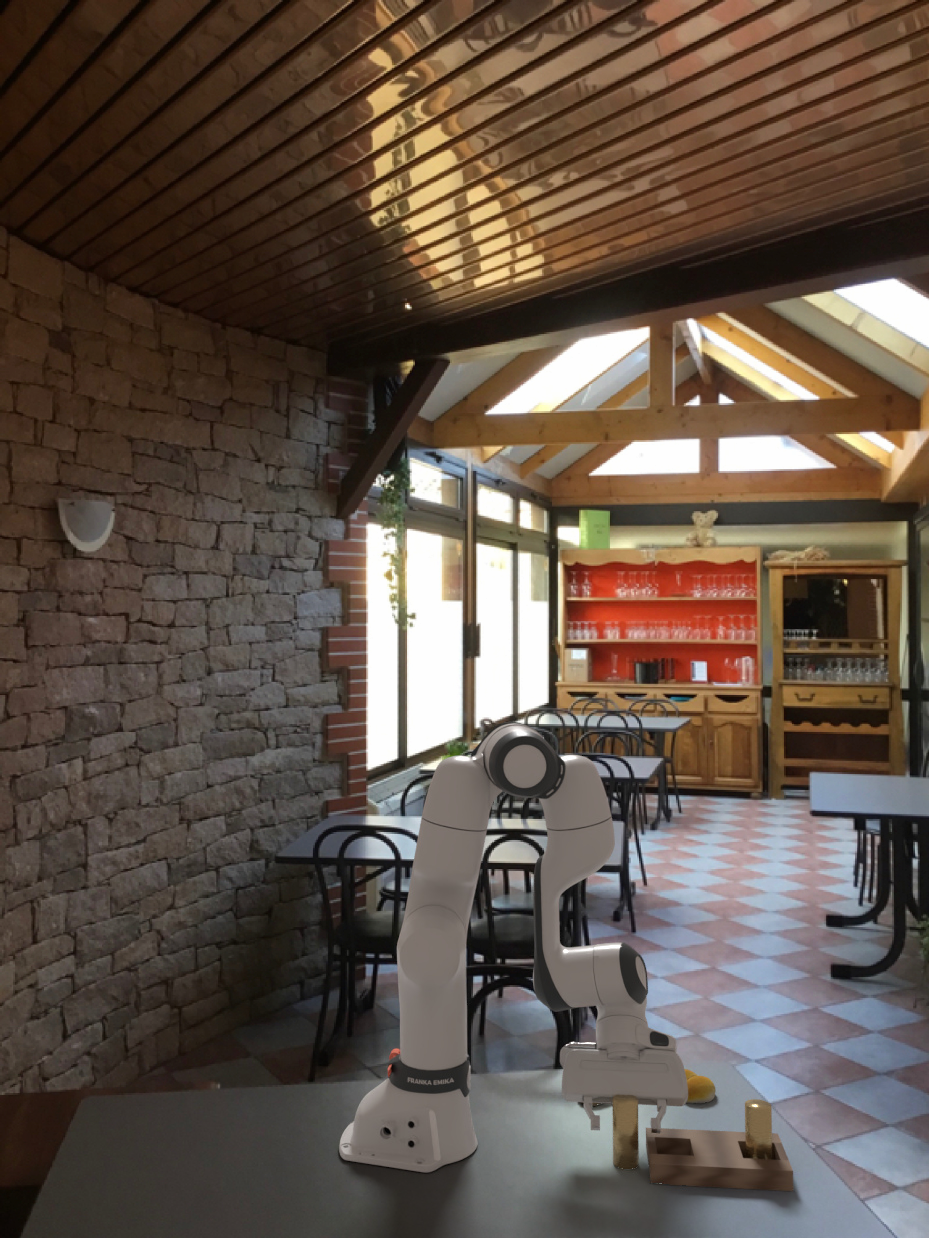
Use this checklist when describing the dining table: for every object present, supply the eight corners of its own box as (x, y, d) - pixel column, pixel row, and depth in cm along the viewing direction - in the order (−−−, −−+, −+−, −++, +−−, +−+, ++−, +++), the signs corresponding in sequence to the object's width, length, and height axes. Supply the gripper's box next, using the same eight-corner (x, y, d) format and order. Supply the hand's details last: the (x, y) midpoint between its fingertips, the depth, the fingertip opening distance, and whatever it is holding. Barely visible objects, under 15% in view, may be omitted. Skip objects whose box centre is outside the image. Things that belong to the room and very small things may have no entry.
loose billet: (613, 1168, 162) (612, 1104, 162) (612, 1156, 166) (612, 1093, 166) (639, 1170, 161) (638, 1105, 162) (637, 1157, 165) (637, 1094, 166)
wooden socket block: (650, 1183, 157) (650, 1163, 157) (645, 1146, 169) (645, 1127, 169) (793, 1191, 155) (793, 1170, 155) (778, 1152, 167) (777, 1133, 167)
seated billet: (747, 1175, 159) (747, 1109, 160) (743, 1162, 163) (742, 1098, 164) (774, 1177, 159) (773, 1110, 159) (769, 1164, 163) (768, 1099, 163)
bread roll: (698, 1109, 183) (698, 1086, 183) (658, 1093, 190) (657, 1071, 190) (726, 1096, 188) (725, 1074, 188) (685, 1080, 195) (685, 1059, 195)
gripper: (559, 1033, 172) (558, 1119, 162) (684, 1037, 170) (691, 1125, 160) (560, 1050, 176) (559, 1135, 166) (682, 1054, 174) (689, 1141, 164)
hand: (625, 1130), depth 163 cm, fingers open, 8 cm apart
